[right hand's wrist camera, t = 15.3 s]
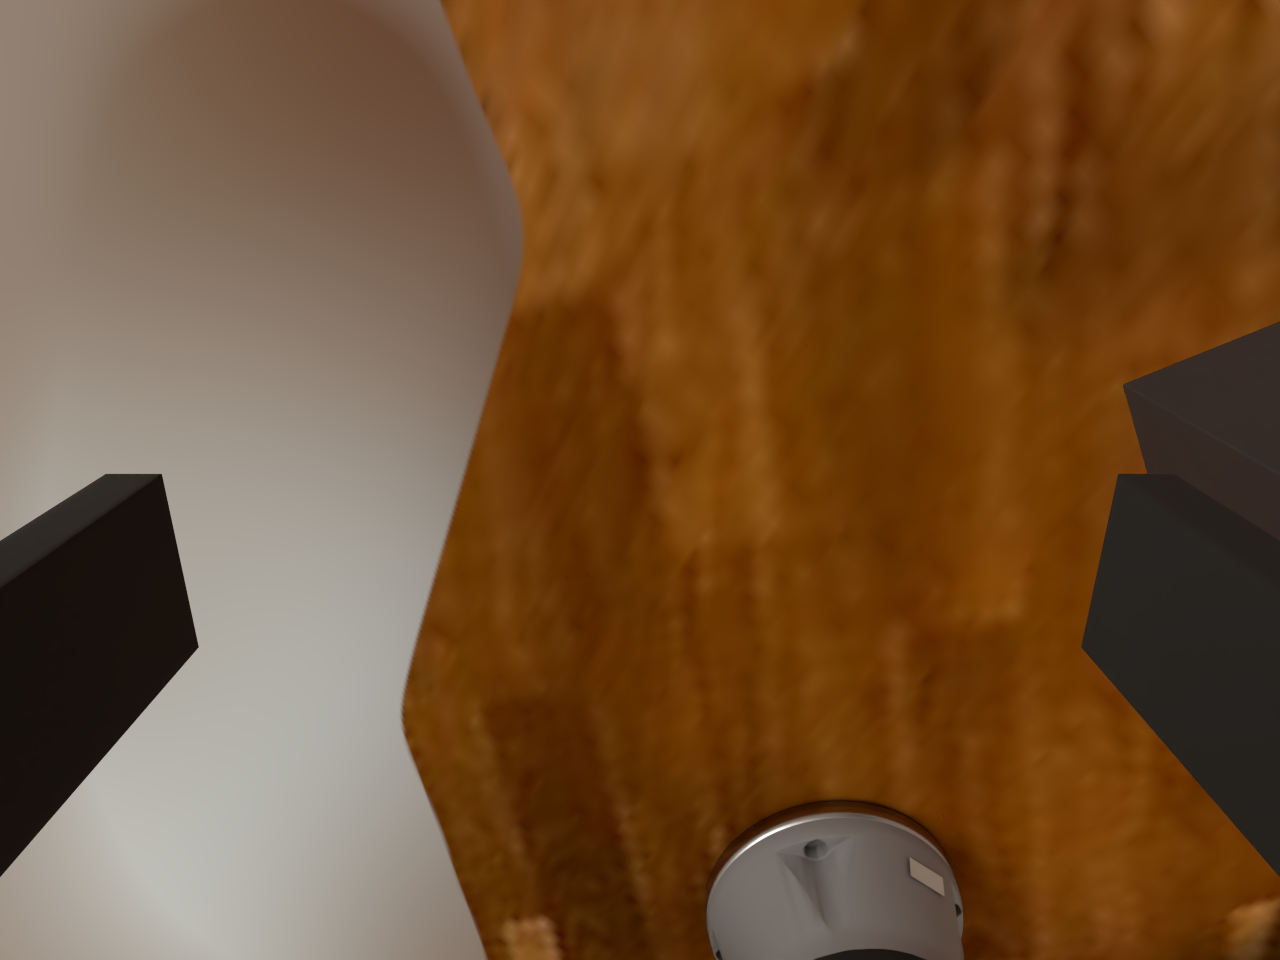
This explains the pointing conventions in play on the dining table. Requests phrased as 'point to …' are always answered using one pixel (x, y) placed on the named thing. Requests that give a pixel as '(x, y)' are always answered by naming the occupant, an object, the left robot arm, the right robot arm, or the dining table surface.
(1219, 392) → the bar
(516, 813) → the dining table surface
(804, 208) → the dining table surface
